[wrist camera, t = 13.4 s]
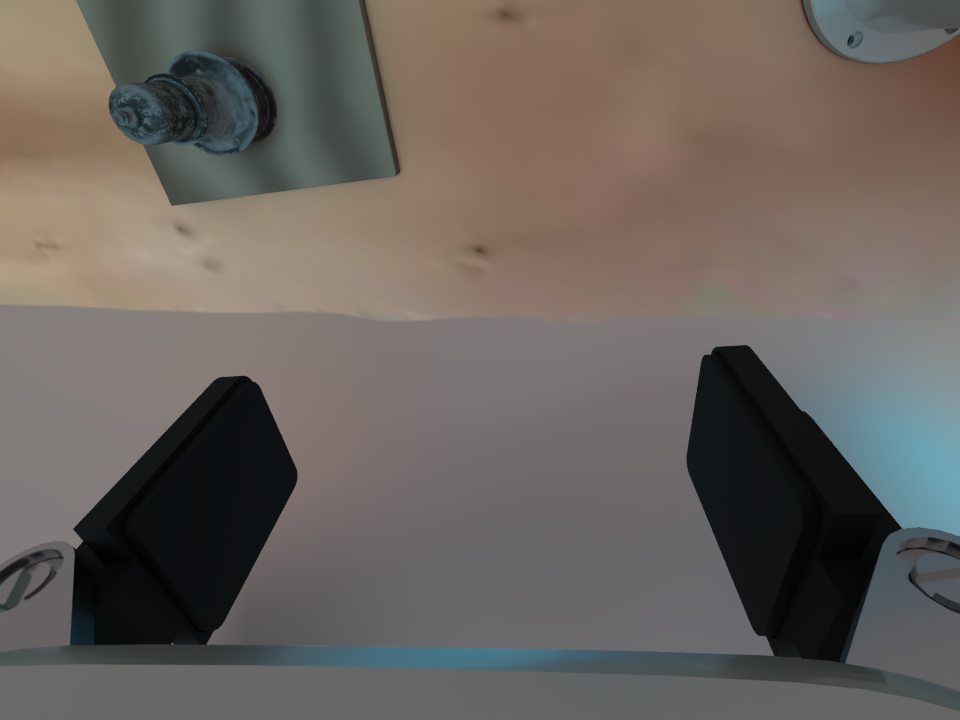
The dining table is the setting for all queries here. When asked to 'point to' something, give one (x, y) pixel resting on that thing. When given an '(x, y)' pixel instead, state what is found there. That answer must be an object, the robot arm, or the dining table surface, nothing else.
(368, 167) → the serving board
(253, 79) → the dark grey chess piece
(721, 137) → the dining table surface
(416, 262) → the dining table surface
